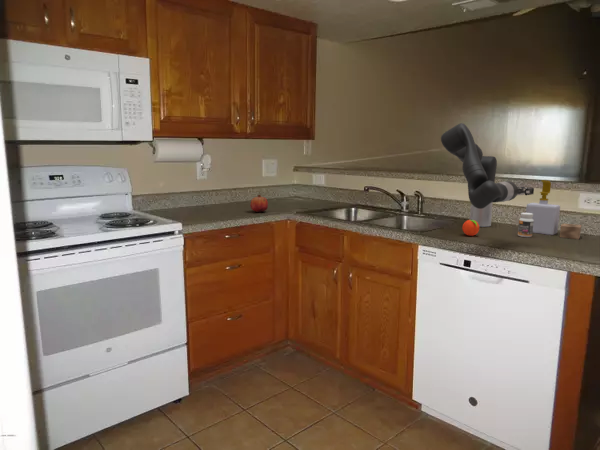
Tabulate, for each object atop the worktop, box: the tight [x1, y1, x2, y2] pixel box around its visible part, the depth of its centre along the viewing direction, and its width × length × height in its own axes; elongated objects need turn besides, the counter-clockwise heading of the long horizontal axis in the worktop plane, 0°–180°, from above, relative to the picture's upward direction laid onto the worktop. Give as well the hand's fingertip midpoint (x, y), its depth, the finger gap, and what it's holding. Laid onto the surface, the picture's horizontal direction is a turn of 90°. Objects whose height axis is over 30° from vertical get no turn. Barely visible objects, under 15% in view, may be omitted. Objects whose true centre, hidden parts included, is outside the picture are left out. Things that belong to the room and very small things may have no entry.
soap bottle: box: [525, 179, 561, 236], centre depth 198 cm, size 12×7×23 cm, turn 45°
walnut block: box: [559, 223, 582, 240], centre depth 190 cm, size 7×7×5 cm
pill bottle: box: [517, 212, 534, 238], centre depth 191 cm, size 6×6×10 cm
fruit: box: [250, 194, 269, 213], centre depth 255 cm, size 11×10×10 cm
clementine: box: [461, 219, 480, 237], centre depth 192 cm, size 8×7×7 cm
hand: (519, 188), depth 180 cm, fingers open, 8 cm apart
